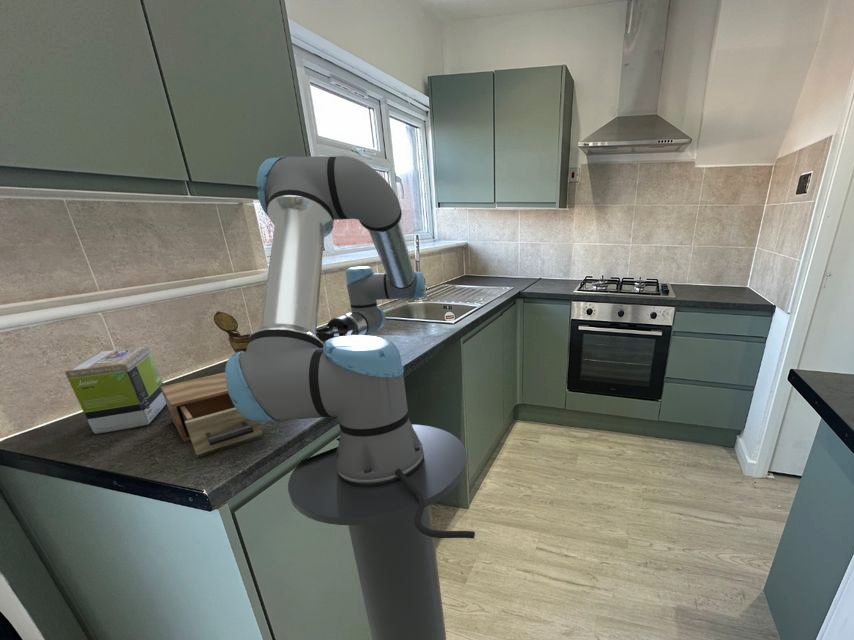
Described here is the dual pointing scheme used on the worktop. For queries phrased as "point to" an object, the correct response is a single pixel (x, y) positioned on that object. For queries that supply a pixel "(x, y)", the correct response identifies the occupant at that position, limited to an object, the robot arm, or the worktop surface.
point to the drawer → (216, 423)
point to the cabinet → (191, 396)
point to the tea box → (118, 389)
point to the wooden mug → (231, 331)
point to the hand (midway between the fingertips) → (290, 350)
